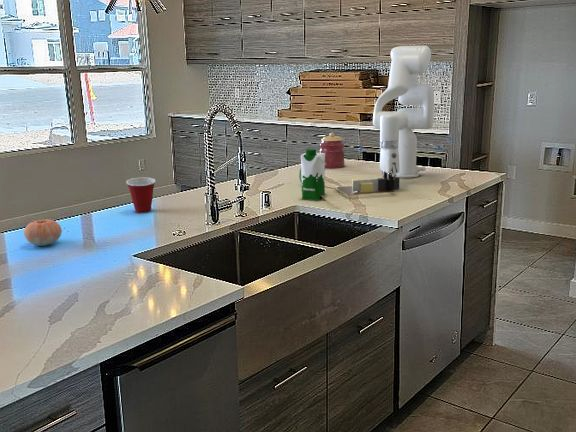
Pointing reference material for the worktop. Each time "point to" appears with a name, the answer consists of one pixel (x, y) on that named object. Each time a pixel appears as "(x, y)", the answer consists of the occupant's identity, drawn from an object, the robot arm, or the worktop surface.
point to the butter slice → (366, 187)
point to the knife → (376, 183)
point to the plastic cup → (141, 193)
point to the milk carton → (313, 175)
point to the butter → (356, 179)
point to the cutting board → (349, 191)
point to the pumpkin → (42, 232)
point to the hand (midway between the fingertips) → (388, 188)
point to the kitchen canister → (333, 151)
